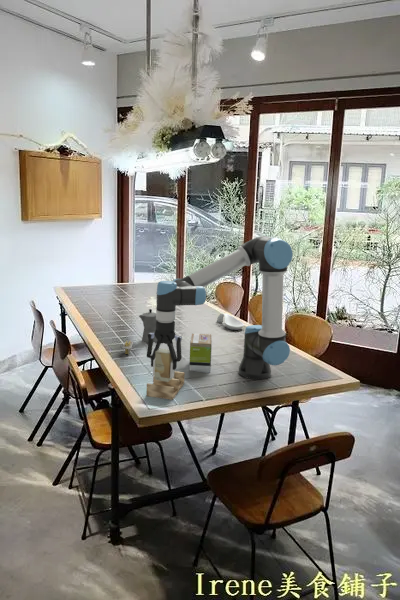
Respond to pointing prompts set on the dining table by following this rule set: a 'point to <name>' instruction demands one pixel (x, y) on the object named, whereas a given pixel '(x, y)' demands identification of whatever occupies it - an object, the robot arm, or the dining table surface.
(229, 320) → the spoon rest
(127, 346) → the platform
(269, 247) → the robot arm
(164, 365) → the skincare box
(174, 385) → the oak rack
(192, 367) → the tea box
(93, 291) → the dining table surface
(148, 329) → the coffeepot
